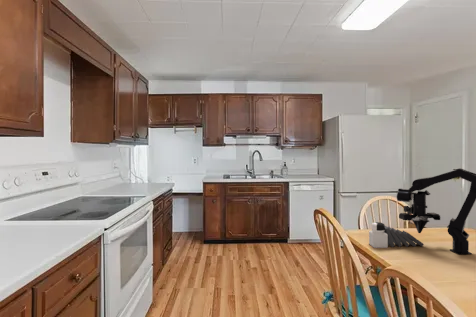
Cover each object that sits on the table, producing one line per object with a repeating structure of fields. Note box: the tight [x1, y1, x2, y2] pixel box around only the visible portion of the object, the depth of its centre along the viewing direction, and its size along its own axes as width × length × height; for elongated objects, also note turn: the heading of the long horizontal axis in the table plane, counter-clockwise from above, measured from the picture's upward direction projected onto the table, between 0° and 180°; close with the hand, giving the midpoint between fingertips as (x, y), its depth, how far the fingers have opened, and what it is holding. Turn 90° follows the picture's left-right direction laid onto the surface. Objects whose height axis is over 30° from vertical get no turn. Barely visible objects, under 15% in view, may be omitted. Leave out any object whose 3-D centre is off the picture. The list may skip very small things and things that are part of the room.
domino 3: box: [391, 227, 410, 248], centre depth 163 cm, size 5×2×10 cm
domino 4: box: [396, 229, 418, 248], centre depth 164 cm, size 5×2×10 cm
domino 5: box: [402, 230, 424, 247], centre depth 164 cm, size 5×2×10 cm
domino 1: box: [384, 225, 395, 248], centre depth 163 cm, size 5×2×10 cm, turn 0°
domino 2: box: [388, 226, 403, 248], centre depth 163 cm, size 5×2×10 cm, turn 179°
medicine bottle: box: [368, 221, 389, 249], centre depth 163 cm, size 7×7×12 cm
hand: (419, 232), depth 163 cm, fingers closed
